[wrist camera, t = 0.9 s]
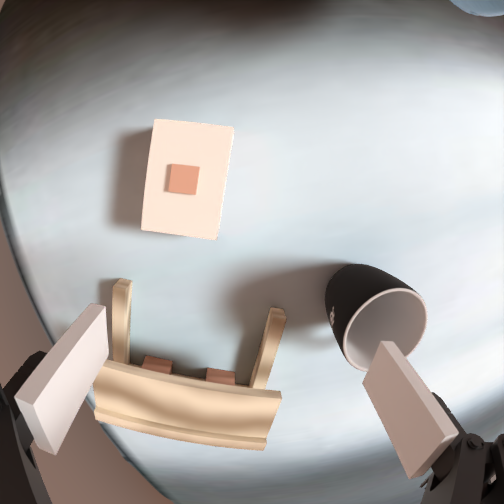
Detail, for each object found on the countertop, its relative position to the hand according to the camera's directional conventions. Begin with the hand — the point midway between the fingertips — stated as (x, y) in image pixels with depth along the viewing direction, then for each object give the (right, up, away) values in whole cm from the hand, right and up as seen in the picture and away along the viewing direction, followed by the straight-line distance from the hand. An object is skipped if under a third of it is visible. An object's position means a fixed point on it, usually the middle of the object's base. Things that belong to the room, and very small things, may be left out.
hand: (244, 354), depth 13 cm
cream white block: (-6, +12, +17) cm, 22 cm away
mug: (+13, -1, +22) cm, 25 cm away
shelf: (-7, -6, +22) cm, 24 cm away
